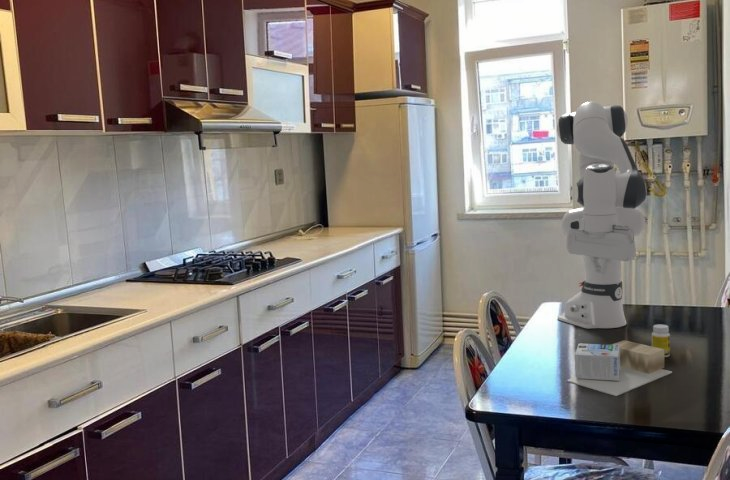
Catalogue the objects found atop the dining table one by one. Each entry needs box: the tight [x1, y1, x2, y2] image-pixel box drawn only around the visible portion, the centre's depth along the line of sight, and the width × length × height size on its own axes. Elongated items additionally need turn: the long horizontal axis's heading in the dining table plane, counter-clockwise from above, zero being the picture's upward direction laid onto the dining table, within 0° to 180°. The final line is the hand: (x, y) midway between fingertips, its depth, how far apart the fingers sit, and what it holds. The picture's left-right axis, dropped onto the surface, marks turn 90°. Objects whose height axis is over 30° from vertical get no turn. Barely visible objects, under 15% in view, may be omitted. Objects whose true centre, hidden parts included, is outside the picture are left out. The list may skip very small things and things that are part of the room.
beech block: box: [611, 339, 665, 374], centre depth 183 cm, size 5×7×12 cm
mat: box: [566, 366, 673, 397], centre depth 176 cm, size 14×24×1 cm, turn 125°
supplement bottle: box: [651, 323, 671, 358], centre depth 190 cm, size 5×5×8 cm
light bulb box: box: [574, 342, 621, 381], centre depth 178 cm, size 11×7×11 cm
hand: (600, 272), depth 189 cm, fingers closed
